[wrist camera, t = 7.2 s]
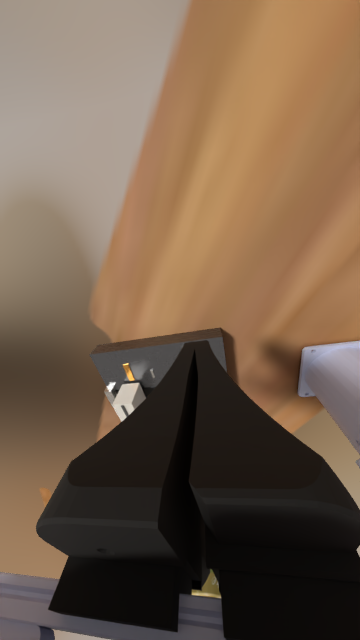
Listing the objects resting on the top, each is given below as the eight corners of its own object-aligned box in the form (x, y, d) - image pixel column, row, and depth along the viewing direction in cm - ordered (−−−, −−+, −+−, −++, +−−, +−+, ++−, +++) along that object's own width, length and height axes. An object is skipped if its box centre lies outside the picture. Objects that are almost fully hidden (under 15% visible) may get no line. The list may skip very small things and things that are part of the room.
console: (220, 327, 20) (224, 344, 17) (230, 407, 26) (235, 430, 23) (97, 345, 23) (82, 362, 20) (132, 414, 28) (124, 435, 25)
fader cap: (139, 382, 22) (131, 404, 19) (148, 403, 23) (142, 426, 21) (122, 384, 22) (111, 405, 19) (132, 405, 24) (123, 427, 21)
